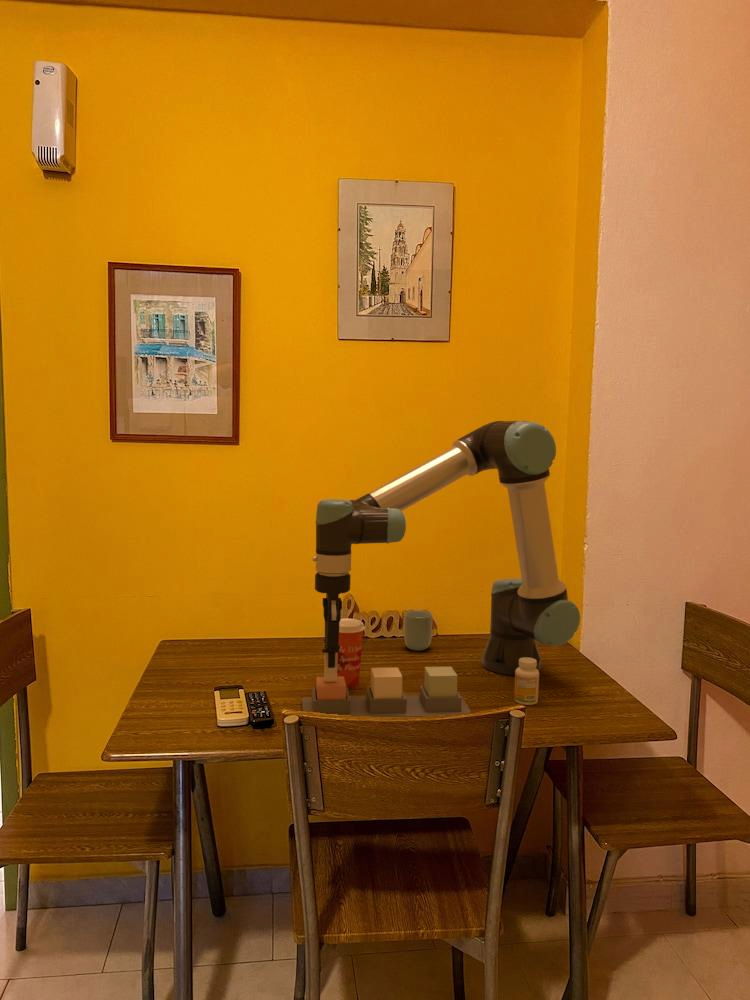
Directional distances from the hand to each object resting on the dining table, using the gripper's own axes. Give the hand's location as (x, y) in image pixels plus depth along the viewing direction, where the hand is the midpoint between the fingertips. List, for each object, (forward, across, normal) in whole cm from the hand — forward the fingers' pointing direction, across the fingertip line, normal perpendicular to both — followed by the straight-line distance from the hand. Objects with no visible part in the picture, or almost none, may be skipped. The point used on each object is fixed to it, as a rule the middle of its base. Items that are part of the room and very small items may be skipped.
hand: (330, 680), depth 160 cm
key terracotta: (+5, 0, 0) cm, 5 cm away
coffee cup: (+7, -18, +5) cm, 20 cm away
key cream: (+3, 0, +12) cm, 13 cm away
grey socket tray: (+7, 0, +12) cm, 14 cm away
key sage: (+3, 0, +24) cm, 24 cm away
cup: (+7, -44, +27) cm, 52 cm away
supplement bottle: (+7, -4, +45) cm, 46 cm away
